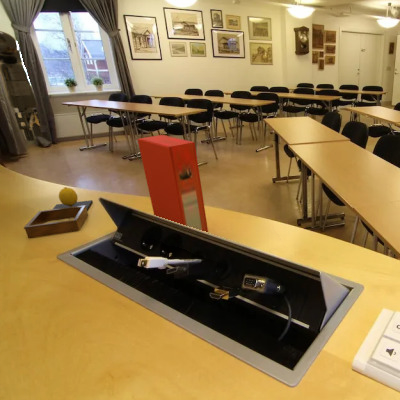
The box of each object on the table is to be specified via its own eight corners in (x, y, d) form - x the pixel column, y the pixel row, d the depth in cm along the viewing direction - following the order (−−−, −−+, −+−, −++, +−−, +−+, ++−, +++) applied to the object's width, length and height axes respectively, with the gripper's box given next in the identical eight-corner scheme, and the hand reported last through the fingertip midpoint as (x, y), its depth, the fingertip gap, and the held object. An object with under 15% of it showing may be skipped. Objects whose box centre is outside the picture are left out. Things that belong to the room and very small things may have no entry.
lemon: (58, 208, 123) (52, 189, 120) (72, 203, 128) (66, 184, 125) (70, 210, 121) (64, 190, 118) (83, 204, 126) (77, 185, 123)
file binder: (186, 251, 96) (168, 146, 84) (157, 234, 106) (137, 138, 94) (209, 241, 102) (195, 141, 90) (180, 226, 112) (163, 134, 100)
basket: (27, 238, 103) (23, 227, 102) (42, 220, 115) (39, 211, 114) (79, 230, 108) (76, 220, 107) (88, 214, 120) (85, 205, 119)
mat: (49, 216, 118) (48, 214, 118) (57, 206, 127) (56, 204, 126) (87, 211, 123) (86, 209, 122) (92, 202, 131) (92, 200, 131)
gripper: (15, 92, 120) (29, 135, 126) (-2, 95, 108) (15, 142, 114) (40, 92, 123) (53, 134, 129) (26, 94, 111) (41, 141, 117)
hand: (35, 138), depth 122 cm, fingers open, 8 cm apart
